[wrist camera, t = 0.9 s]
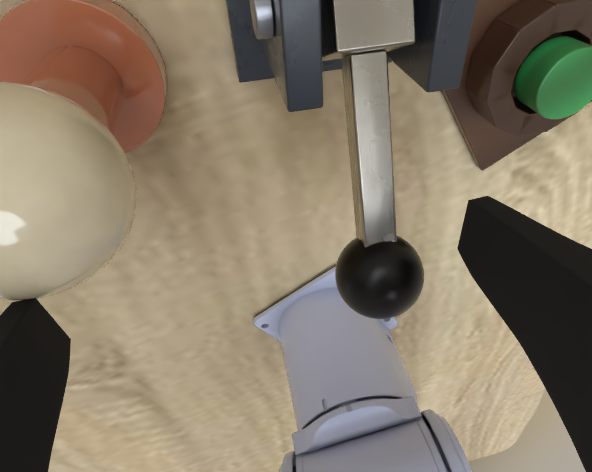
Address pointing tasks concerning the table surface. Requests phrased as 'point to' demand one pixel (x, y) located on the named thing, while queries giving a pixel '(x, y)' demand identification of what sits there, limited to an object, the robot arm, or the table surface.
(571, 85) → the light button
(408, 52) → the switch bracket
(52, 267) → the globe lamp
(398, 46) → the switch lever
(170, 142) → the table surface
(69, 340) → the robot arm
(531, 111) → the button block
